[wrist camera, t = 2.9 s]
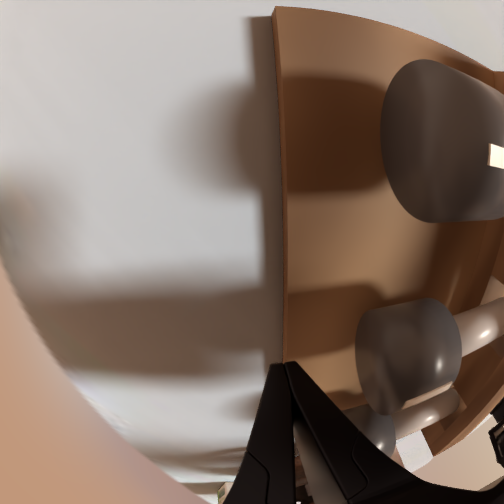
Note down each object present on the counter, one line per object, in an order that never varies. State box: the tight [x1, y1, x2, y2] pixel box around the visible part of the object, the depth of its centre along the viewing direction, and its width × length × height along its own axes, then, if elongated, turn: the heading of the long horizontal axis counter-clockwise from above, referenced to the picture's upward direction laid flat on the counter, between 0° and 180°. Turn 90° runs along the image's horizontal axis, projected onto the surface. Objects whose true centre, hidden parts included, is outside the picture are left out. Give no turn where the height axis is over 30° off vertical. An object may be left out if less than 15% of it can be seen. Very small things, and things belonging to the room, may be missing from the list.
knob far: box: [341, 388, 460, 458], centre depth 11 cm, size 8×4×4 cm, turn 94°
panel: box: [271, 6, 504, 457], centre depth 8 cm, size 13×22×6 cm, turn 3°
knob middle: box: [355, 297, 504, 416], centre depth 8 cm, size 8×4×4 cm, turn 94°
